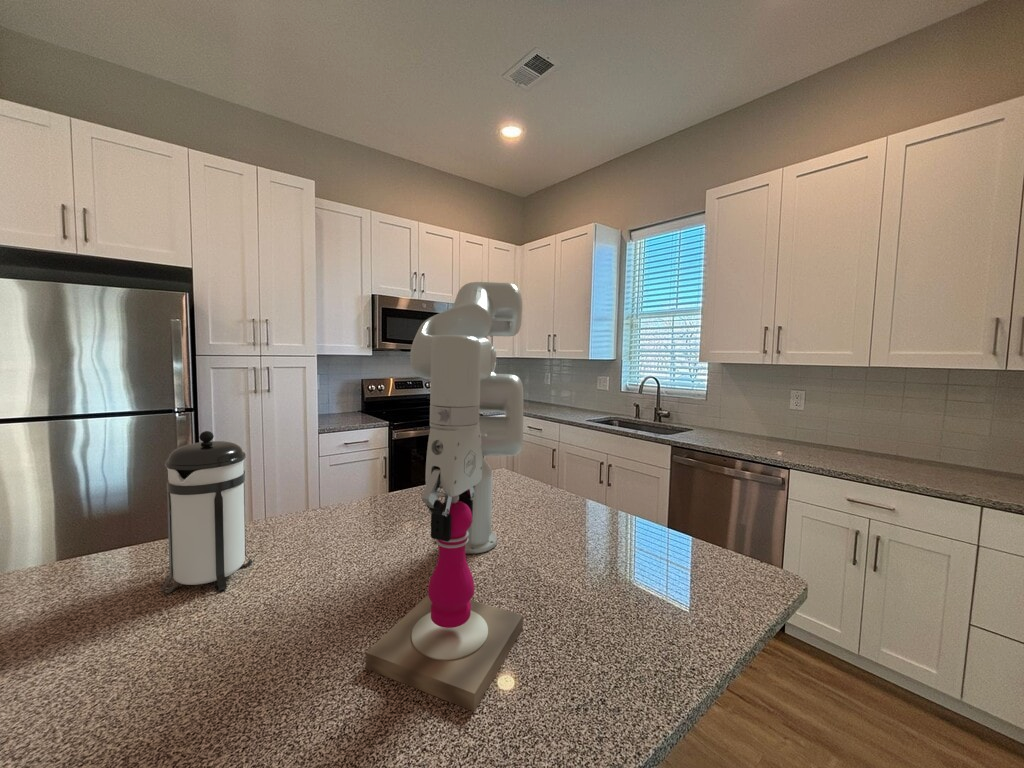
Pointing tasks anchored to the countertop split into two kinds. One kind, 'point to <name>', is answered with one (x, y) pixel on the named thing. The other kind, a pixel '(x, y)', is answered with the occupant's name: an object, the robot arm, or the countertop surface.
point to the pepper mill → (453, 572)
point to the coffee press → (205, 512)
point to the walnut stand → (447, 652)
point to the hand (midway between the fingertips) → (452, 529)
